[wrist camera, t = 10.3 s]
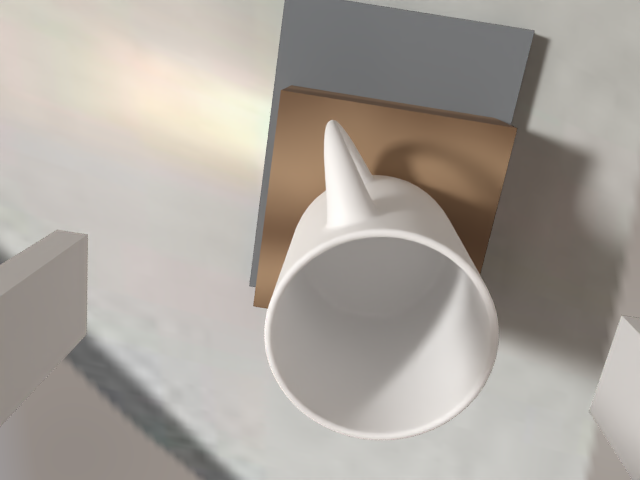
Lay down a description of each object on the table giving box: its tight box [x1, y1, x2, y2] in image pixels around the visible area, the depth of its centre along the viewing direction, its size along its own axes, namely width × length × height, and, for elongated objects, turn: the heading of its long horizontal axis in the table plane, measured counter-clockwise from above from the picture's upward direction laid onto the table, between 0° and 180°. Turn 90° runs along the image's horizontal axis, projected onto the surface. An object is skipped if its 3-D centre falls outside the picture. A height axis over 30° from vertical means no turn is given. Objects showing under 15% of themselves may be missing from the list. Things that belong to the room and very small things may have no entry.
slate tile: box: [249, 0, 535, 287], centre depth 36 cm, size 18×14×1 cm
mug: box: [264, 120, 499, 440], centre depth 26 cm, size 9×12×11 cm
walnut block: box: [253, 85, 517, 309], centre depth 34 cm, size 12×12×5 cm
